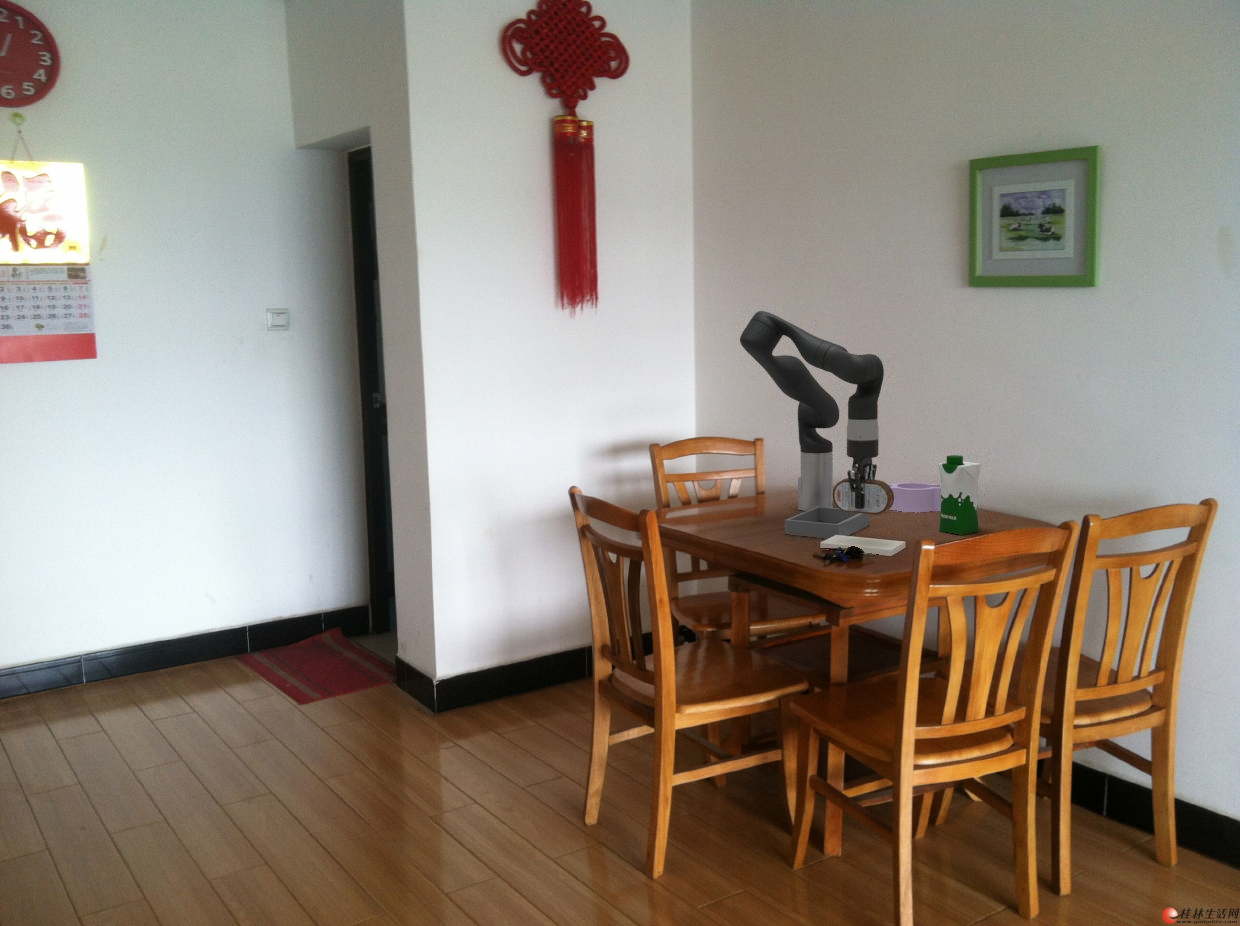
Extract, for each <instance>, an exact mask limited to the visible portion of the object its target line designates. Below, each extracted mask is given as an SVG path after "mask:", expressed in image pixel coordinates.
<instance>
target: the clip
mask: <svg viewBox="0 0 1240 926" xmlns="http://www.w3.org/2000/svg"><path fill="white" fill-rule="evenodd" d="M887 484H888V485H889V486H890V488H891V489H892V491H893V494H894V502H893V505H892V507H891V508H890V510H897V511H896V512H898V511H902V512H901V513H906V512H915V513H914V514H921V513H920V512H927V513H930V512H929V511H933V512H937V511H941V483H927V482H918V481H917V482H912V481H911V482H909V481H908V482H907V481H906V482H897V483H887ZM917 512H919V513H917Z"/></svg>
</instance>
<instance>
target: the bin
mask: <svg viewBox="0 0 1240 926" xmlns="http://www.w3.org/2000/svg"><path fill="white" fill-rule="evenodd" d="M818 521H823V522H818ZM868 525H869V526H870V514H861V513H850V512H844V511H842V510H840V509H839V508H838V507H833V508H830V507H818V506H817V507H815V508H812V509H810V510H808V511H802V512H801V513H798V514H795V515H794V516H791V517H789V518H786V519H784V535H785V534H792V535H800V536H809V537H808V538H810V537H817V538H816V539H820V538H824V539H823V540H827V539H829V538H831V537H833V536H835V535H843V536H850V534H851V535H852V533H853V534H855V533H857V532H858V531H861V530H863V529H865V528H867V527H868ZM854 532H855V533H854ZM800 536H799V537H800Z"/></svg>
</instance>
